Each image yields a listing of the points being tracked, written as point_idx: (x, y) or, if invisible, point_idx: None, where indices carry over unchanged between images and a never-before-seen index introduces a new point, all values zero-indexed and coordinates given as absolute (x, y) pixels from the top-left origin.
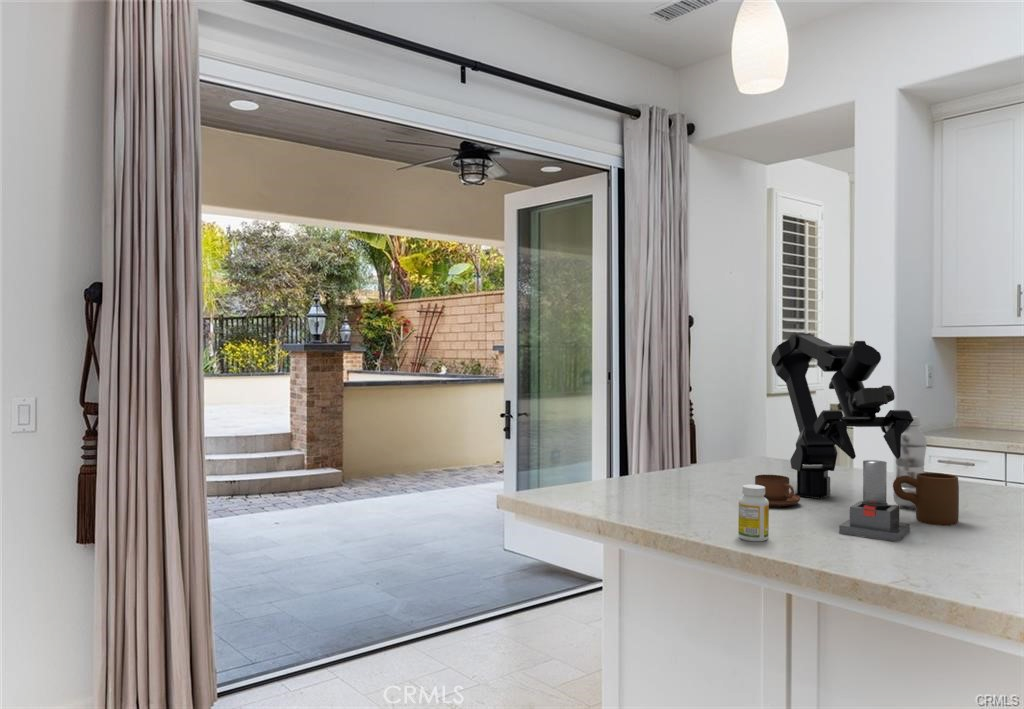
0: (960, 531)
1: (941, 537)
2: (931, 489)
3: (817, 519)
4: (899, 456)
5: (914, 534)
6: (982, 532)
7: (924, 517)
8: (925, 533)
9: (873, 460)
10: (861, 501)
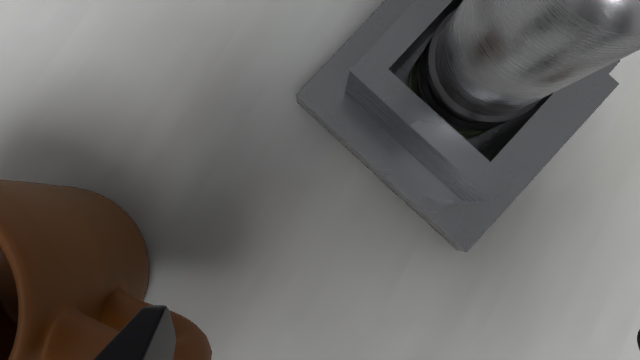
0: (87, 99)
1: (226, 10)
2: (48, 216)
3: (579, 344)
4: (158, 305)
5: (303, 61)
6: (9, 78)
7: (139, 239)
8: (250, 74)
9: (610, 9)
10: (492, 188)
